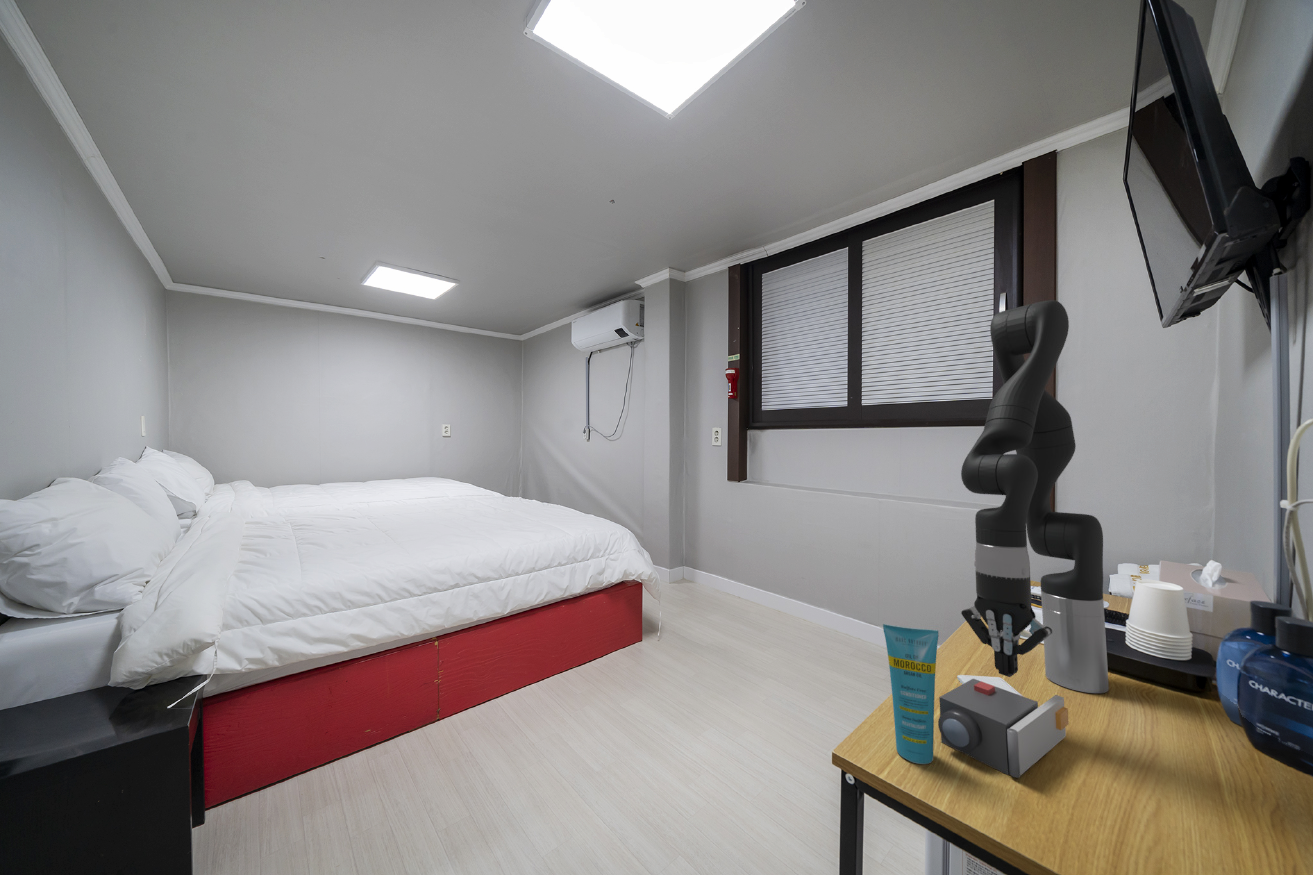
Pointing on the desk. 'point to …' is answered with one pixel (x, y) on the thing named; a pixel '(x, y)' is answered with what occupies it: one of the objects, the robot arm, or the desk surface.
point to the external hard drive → (989, 682)
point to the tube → (913, 689)
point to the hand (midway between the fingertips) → (1006, 674)
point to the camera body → (981, 721)
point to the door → (1036, 735)
